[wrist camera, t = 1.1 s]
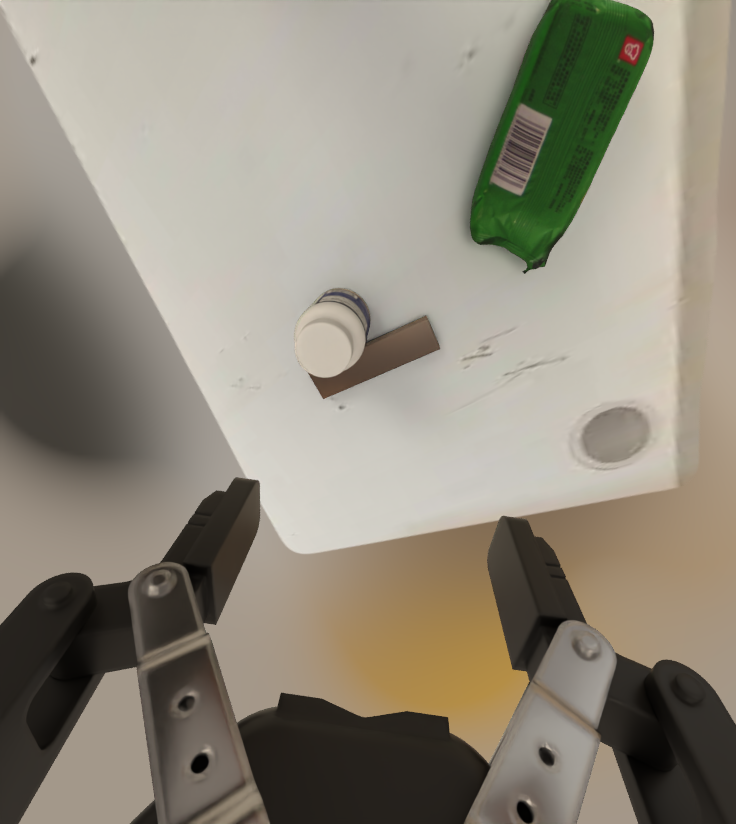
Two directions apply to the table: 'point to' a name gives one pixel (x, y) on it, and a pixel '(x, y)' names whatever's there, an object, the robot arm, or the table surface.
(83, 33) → the table surface
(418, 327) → the bar
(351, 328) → the pill bottle
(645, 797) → the robot arm
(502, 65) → the table surface
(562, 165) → the snack package
